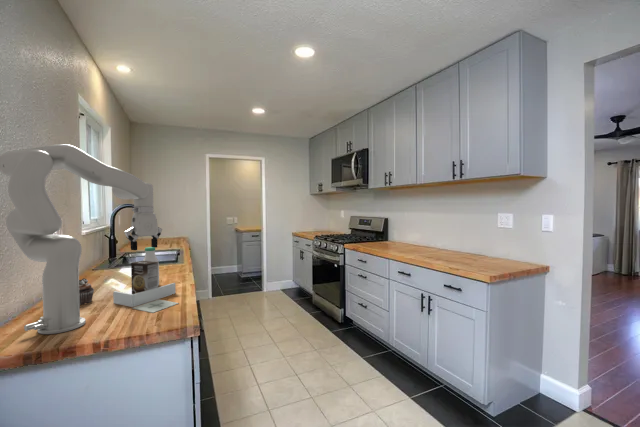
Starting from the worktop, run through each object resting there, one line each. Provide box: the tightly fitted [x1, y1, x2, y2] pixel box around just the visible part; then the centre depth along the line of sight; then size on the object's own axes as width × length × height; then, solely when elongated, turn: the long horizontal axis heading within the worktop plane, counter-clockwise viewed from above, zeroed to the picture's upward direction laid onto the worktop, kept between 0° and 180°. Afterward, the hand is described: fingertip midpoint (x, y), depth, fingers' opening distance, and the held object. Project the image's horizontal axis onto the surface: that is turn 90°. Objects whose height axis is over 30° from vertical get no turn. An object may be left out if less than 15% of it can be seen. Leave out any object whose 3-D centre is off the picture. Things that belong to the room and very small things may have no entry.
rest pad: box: [131, 298, 180, 314], centre depth 126 cm, size 12×12×1 cm
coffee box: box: [130, 260, 159, 294], centre depth 137 cm, size 9×6×16 cm
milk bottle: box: [142, 246, 160, 287], centre depth 156 cm, size 8×8×20 cm
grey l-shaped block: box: [112, 282, 176, 308], centre depth 137 cm, size 21×12×5 cm, turn 156°
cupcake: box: [79, 277, 95, 306], centre depth 131 cm, size 10×10×10 cm
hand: (144, 248), depth 137 cm, fingers open, 9 cm apart
